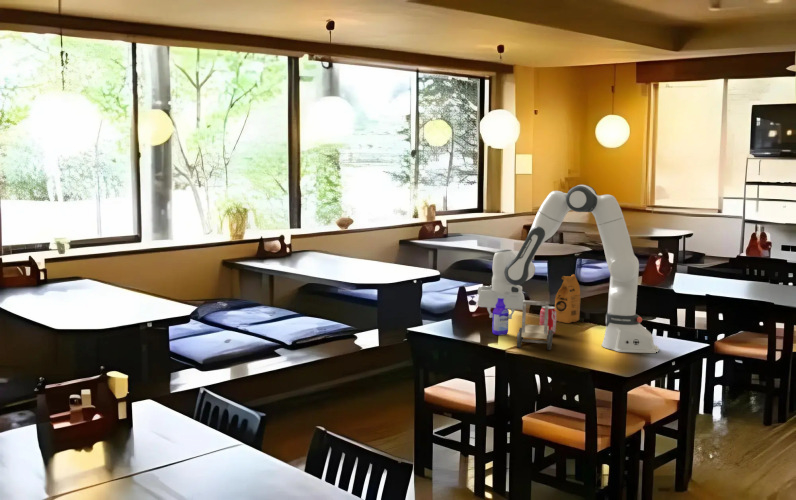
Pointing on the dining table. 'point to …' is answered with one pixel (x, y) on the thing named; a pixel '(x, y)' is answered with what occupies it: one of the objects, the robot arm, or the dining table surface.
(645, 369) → the dining table surface
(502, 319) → the bottle
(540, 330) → the trolley
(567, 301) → the coffee package
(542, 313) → the soda can
